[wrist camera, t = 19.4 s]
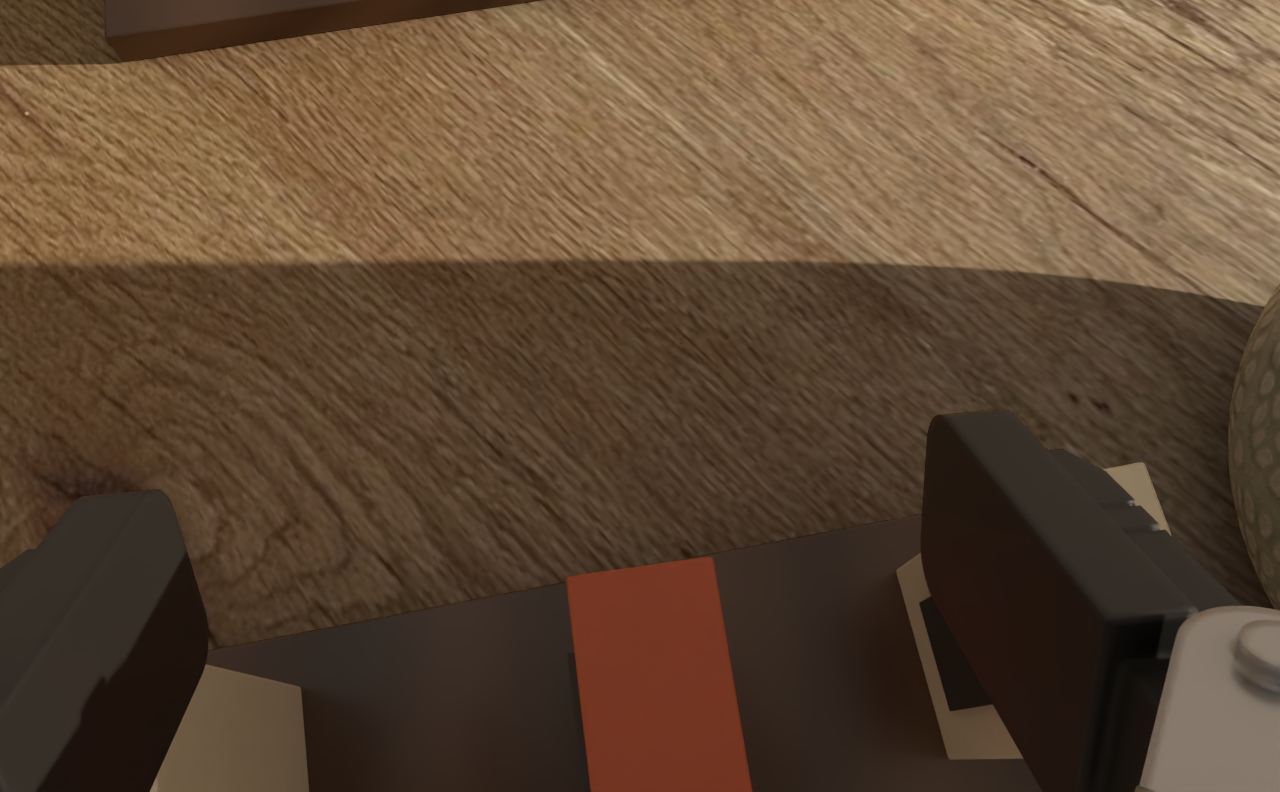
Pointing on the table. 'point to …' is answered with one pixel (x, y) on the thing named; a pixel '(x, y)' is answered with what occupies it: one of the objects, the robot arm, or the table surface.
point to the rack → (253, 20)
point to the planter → (1259, 447)
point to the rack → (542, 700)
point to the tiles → (274, 727)
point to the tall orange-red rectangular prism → (654, 681)
